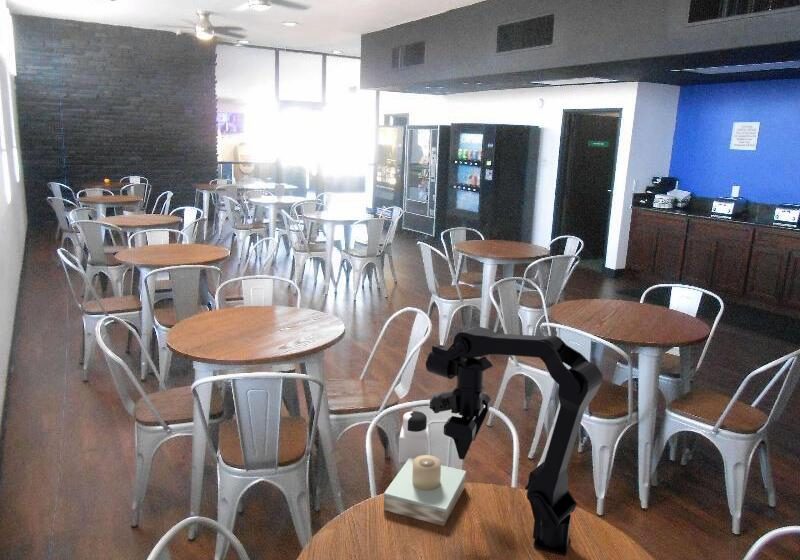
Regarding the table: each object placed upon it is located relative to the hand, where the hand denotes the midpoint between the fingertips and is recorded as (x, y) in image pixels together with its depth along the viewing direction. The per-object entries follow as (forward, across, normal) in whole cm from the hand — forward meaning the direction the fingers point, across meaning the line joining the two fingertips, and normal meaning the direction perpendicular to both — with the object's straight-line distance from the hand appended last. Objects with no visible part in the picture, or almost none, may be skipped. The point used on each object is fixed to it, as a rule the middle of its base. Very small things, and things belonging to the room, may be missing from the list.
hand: (467, 449), depth 133 cm
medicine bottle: (+12, -13, -17) cm, 25 cm away
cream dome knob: (+8, +3, -8) cm, 12 cm away
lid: (+9, +3, -8) cm, 13 cm away
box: (+12, +3, -9) cm, 15 cm away
